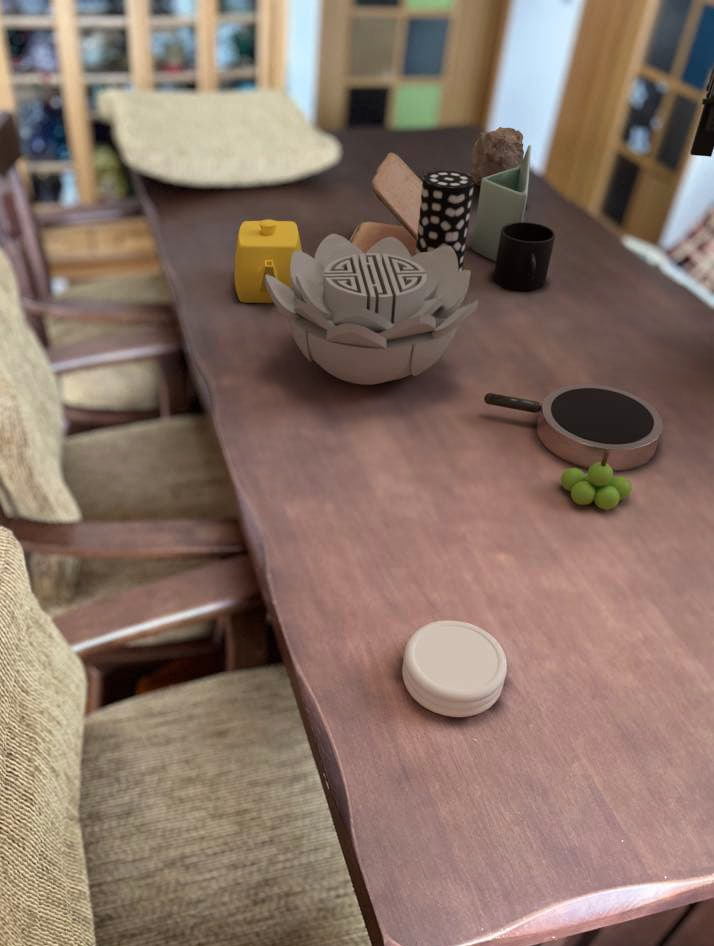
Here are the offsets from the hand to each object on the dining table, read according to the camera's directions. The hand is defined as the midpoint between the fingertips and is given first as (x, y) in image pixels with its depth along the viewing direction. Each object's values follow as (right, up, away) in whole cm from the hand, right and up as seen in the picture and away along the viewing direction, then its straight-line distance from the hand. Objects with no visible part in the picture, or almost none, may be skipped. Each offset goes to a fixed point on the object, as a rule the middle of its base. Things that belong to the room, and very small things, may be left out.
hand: (700, 154), depth 116 cm
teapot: (-62, -10, +32) cm, 71 cm away
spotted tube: (-33, -11, +31) cm, 46 cm away
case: (-38, +1, +44) cm, 58 cm away
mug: (-17, -8, +35) cm, 39 cm away
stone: (-14, +22, +69) cm, 73 cm away
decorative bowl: (-47, -28, +12) cm, 56 cm away
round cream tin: (-41, -69, -34) cm, 87 cm away
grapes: (-19, -49, -12) cm, 55 cm away
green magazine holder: (-19, +2, +46) cm, 50 cm away
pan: (-19, -39, -1) cm, 44 cm away
